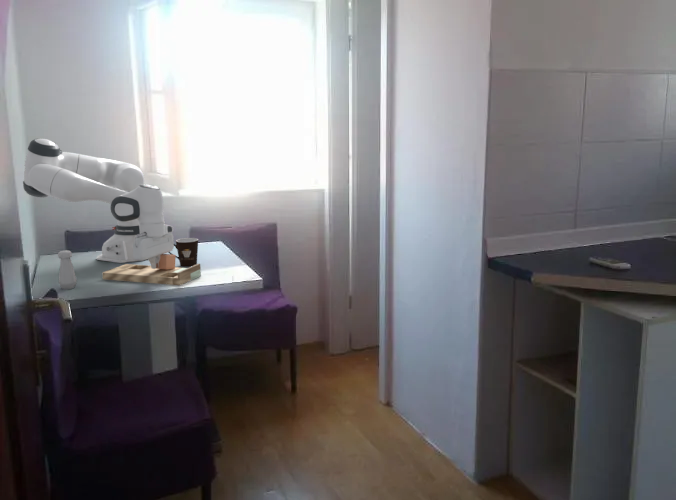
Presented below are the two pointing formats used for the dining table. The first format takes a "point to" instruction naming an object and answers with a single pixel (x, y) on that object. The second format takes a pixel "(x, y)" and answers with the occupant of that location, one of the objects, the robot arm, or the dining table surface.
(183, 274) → the trap box
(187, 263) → the coffee mug
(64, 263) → the salt shaker
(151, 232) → the robot arm
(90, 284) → the dining table surface
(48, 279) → the dining table surface
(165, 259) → the block
